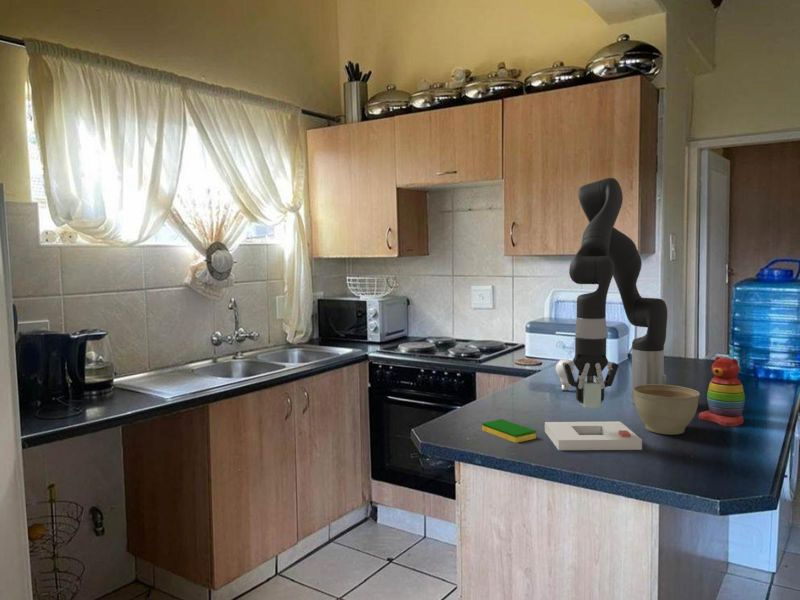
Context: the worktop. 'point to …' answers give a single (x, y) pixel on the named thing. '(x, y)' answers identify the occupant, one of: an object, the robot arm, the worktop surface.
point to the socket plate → (592, 436)
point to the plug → (591, 393)
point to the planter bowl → (666, 407)
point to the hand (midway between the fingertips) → (589, 402)
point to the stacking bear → (725, 394)
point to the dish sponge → (509, 430)
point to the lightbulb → (563, 374)
